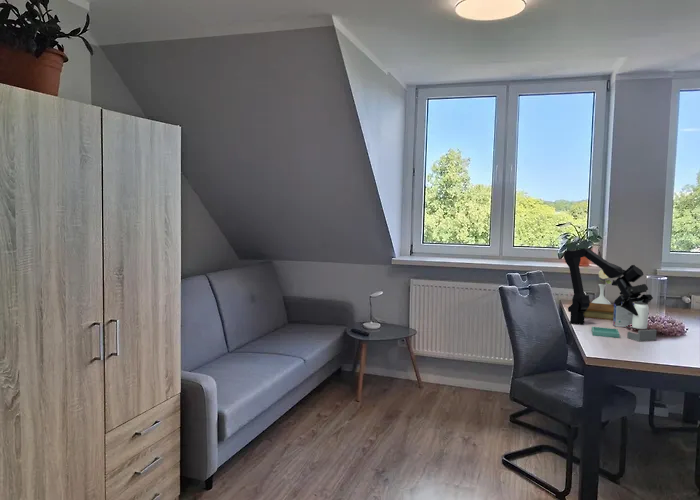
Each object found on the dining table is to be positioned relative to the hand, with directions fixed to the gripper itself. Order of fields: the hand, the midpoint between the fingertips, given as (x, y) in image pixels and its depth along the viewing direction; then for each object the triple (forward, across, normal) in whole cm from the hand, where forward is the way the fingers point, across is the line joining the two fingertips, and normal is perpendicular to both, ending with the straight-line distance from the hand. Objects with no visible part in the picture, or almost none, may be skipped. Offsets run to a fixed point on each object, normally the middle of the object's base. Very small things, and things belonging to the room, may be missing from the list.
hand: (642, 314), depth 254 cm
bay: (+8, 0, +8) cm, 12 cm away
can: (+4, 0, +6) cm, 7 cm away
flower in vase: (-44, +47, +61) cm, 89 cm away
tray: (0, -10, +17) cm, 20 cm away
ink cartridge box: (-9, +14, +26) cm, 31 cm away
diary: (-27, +23, +45) cm, 57 cm away
